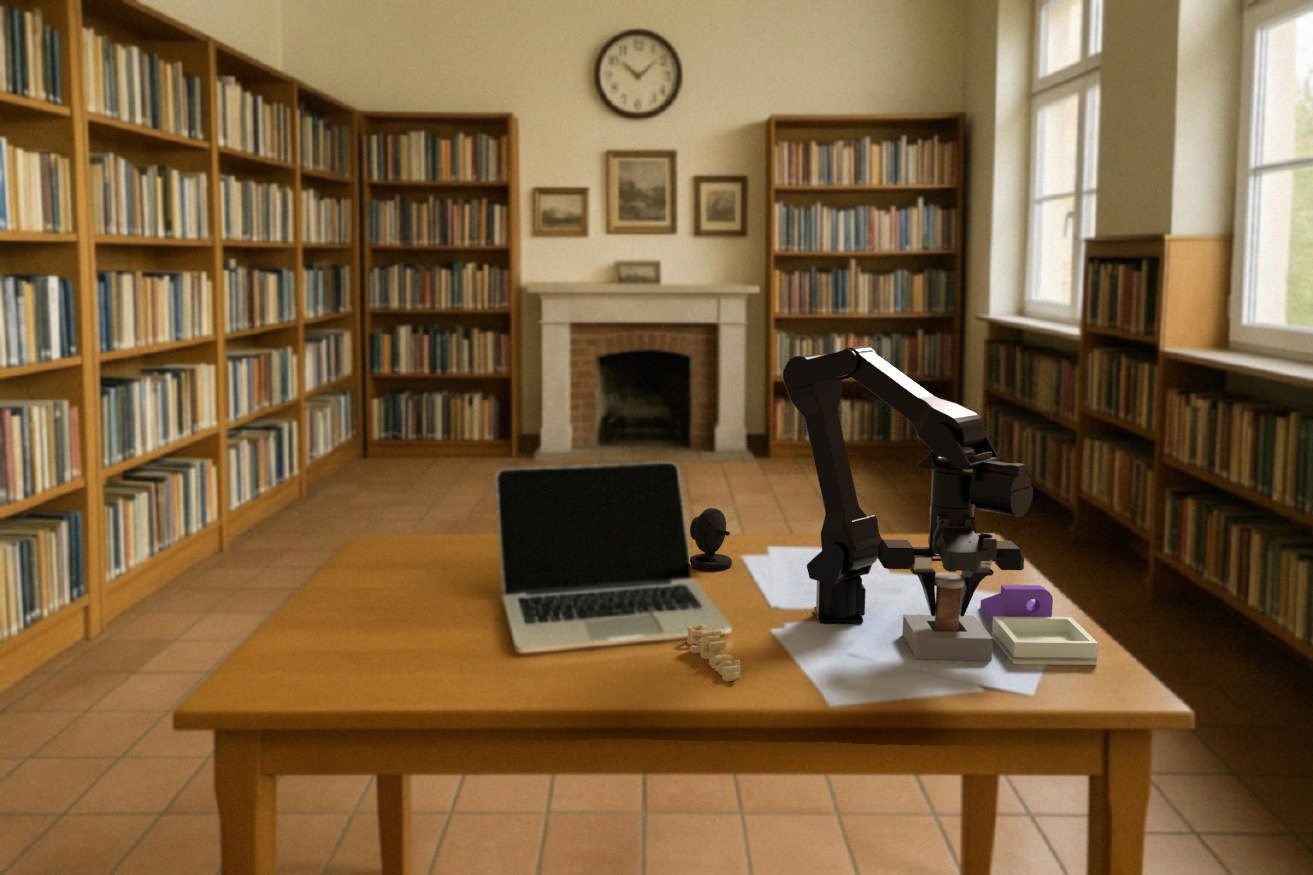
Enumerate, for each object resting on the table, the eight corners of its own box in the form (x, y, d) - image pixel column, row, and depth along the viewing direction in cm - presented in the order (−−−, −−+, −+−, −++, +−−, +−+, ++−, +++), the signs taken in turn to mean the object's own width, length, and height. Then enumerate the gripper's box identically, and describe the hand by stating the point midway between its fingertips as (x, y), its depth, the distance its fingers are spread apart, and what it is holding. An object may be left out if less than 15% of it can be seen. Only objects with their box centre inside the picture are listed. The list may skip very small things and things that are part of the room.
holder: (916, 659, 164) (917, 637, 163) (902, 635, 174) (903, 614, 173) (991, 659, 164) (992, 638, 163) (973, 635, 174) (974, 615, 173)
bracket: (1050, 635, 175) (1053, 589, 174) (1002, 635, 175) (1005, 589, 174) (1025, 609, 187) (1027, 566, 186) (980, 609, 187) (982, 566, 186)
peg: (933, 652, 167) (936, 581, 165) (926, 641, 171) (929, 572, 169) (965, 652, 167) (969, 581, 165) (958, 642, 171) (961, 572, 169)
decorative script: (678, 642, 171) (678, 619, 170) (704, 639, 172) (704, 616, 171) (727, 686, 155) (728, 660, 154) (755, 682, 156) (755, 657, 155)
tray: (1013, 663, 162) (1014, 642, 162) (991, 636, 173) (992, 616, 173) (1096, 664, 162) (1098, 643, 162) (1069, 637, 173) (1071, 617, 173)
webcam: (704, 557, 215) (705, 501, 213) (740, 564, 210) (741, 507, 209) (679, 566, 209) (679, 509, 207) (716, 574, 204) (716, 515, 203)
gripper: (893, 517, 158) (889, 634, 160) (1039, 518, 157) (1032, 635, 160) (879, 498, 169) (875, 608, 171) (1015, 499, 168) (1009, 609, 171)
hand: (947, 615), depth 168 cm, fingers closed on peg, 4 cm apart
